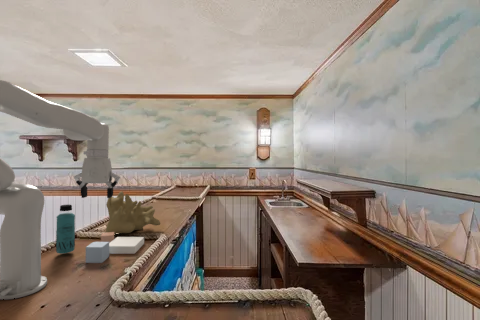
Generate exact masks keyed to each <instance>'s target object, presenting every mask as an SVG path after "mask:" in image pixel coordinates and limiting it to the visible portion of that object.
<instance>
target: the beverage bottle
mask: <svg viewBox="0 0 480 320" xmlns="http://www.w3.org/2000/svg"><path fill="white" fill-rule="evenodd" d="M72 210H73V205H72V204H62V205H60V206H59V212H60V213H59V214H58V215H57V216H56V230H55V232H56V233H55V235H56V236H55V251H56V253H57V254H63V255H64V254H68V253H71V252H73V251H75V248H76V241H75V240H76V239H75V237H76V223H75V221H76V220H75V219H76V215H75V214H74V213H73V212H72ZM70 211H71V212H70Z"/></svg>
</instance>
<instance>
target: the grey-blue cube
mask: <svg viewBox="0 0 480 320" xmlns="http://www.w3.org/2000/svg"><path fill="white" fill-rule="evenodd" d="M109 257H110V254H109V242H101V241H93V242H90V243H89V244H88V245H87V246H85V263H87V264H102V263H104V262H105V261H106V260H107V259H108V258H109Z"/></svg>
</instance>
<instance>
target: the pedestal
mask: <svg viewBox="0 0 480 320" xmlns="http://www.w3.org/2000/svg"><path fill="white" fill-rule="evenodd" d="M143 245H145V236H117V237H114V240H113V241H111V242H110V243H109V255H110V254H113V255H114V254H116V255H117V254H122V255H123V254H124V255H125V254H128V255H129V254H131V255H132V254H136V253H137V252H138V251H139V250H140V248H141V247H143Z"/></svg>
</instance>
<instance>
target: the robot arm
mask: <svg viewBox="0 0 480 320" xmlns="http://www.w3.org/2000/svg"><path fill="white" fill-rule="evenodd" d="M0 112H1V113H5V114H6V115H8V116H12V117H15V118H17V119H20V120H21V121H25V122H27V123H30V124H32V125H35V126H38V127H42V128H47V129H54V130H55V129H56V130H62V132H63V135H64V136H65V137H66V138H67V139H69V140H71V141H86V150H84V151H83V155H85V156H86V157H84V158H83V162H82V167H81V172H80V173H78V174H76V175H74V176H73V179H74V181H75V183H76V185H78V187H79V188H80V196H81V199H85V198H87V197H88V186H87V185H88V184H106V186H107V187H108V188H106V189H107V190H106V193H107V194H106V198H107V199H108V198H111V197H113V196H114V188H115V186H117V185H118V184H119V181H120V179H121V176H119V175H118V174H115V173H114V172H113V170H112V162H111V158H109V145H110V143H109V138H110V135H109V133H110V132H109V131H110V128H109V125H108V124H106V123H102V122H101V121H99V120H98V119H96V118H95V117H93V116H91V115H89V114H87V113H85V112H82V111H79V110H77V109H74V108H70V107H67V106H63V105H61V104H57V103H54V102H52V101H49V100H46V99H45V98H42V97H41V96H39V95H37V94H34V93H32V92H30V91H28V90H26V89H24V88H22V87H20V86H18V85H16V84H15V83H12V82H10V81H6V80H0ZM15 178H16V175H15V171H14V169H13V168H12V167H11V166H10V164H9V163H8V162H6V161H5V159H3V158H2V157H1V156H0V215H4V216H3V220H2V223H1V225H0V300H3V299H4V300H14V298H15V299H19V298H22V297H26V296H29V295H32V294H34V293H36V292H37V293H38V292H39V291H40V290H42V289H44V288H45V287H46V286H47V284H48V279H47V277H46V276H43V275H42V234H41V233H42V232H41V231H42V227H41V226H42V218H43V217H42V215H43V212H44V207H45V206H44V205H45V196H44V193H43V192H42V190H41V189H39V188H38V187H36V186H35V185H31V184H26V183H15ZM80 178H81V179H80ZM113 179H114V181H113Z"/></svg>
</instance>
